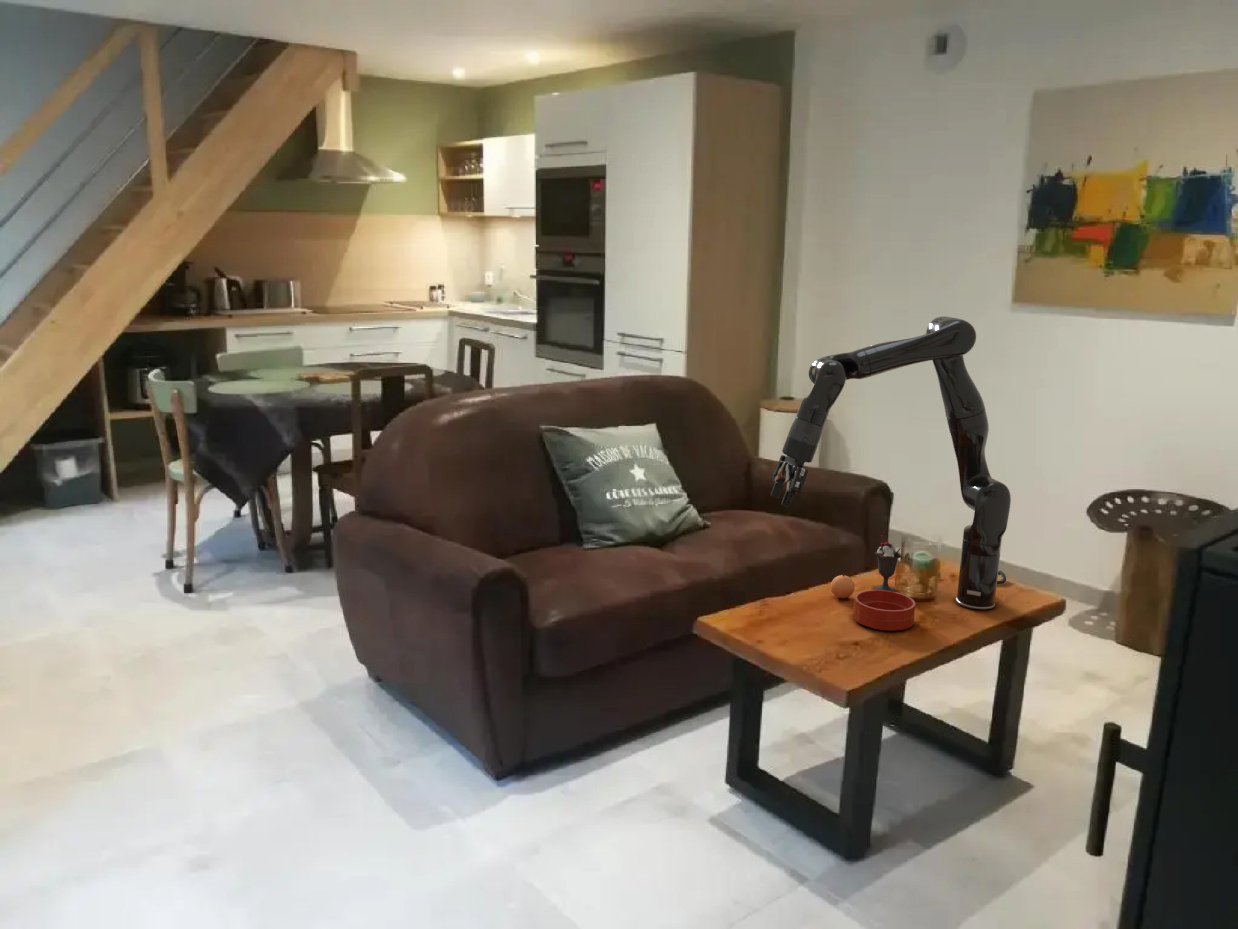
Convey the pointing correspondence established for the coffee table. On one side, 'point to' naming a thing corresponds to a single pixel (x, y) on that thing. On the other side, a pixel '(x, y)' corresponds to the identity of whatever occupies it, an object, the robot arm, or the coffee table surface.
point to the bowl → (884, 610)
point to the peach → (842, 586)
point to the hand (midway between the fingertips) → (779, 502)
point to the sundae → (887, 563)
